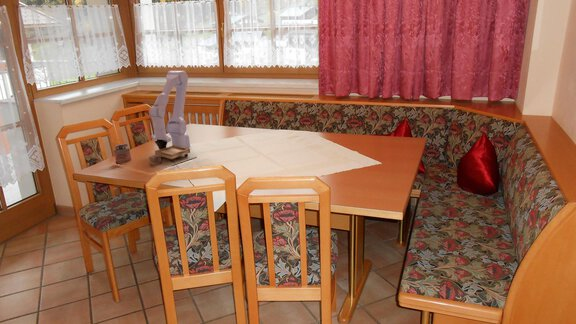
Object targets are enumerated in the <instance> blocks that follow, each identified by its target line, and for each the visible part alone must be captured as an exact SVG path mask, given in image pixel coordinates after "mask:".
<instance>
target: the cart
mask: <svg viewBox="0 0 576 324" xmlns="http://www.w3.org/2000/svg"><path fill="white" fill-rule="evenodd" d="M189 154H191V149H190V147H187V148H184V147H179V146H174V145H173V146H172V145H170V146H166V148H163V149H160V150H159V149H157V150H154V155H160V156H161V159H162V158H167V159H169V160H170V162H174V161H175V159H176V158H180V157H181V156H183V157H185V158H186V157H189Z"/></svg>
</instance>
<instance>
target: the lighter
mask: <svg viewBox="0 0 576 324" xmlns="http://www.w3.org/2000/svg"><path fill="white" fill-rule="evenodd" d="M114 146H115V147H114V148H115V149H113V153H114V158H115V165H120V163H123V162H130V161H132V155H131V149H130V147H128V146H129V145H128V143H122V144H121V143H119V144H117V145H114Z"/></svg>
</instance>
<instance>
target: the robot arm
mask: <svg viewBox="0 0 576 324" xmlns="http://www.w3.org/2000/svg"><path fill="white" fill-rule="evenodd" d="M165 78H166V82H165V84H164V87H163V89H162V92H161V93H159V94H158V95H157V97H156V100H155V102H154V104H153V105H152V106H150V107H149V110H148V115H149V117H150V119H151V120H152V126H153V131H154V134H152V135H151V140H152V139H153V140H155V141H154V143H155V144H156V145H157V148H158V150H160V149H163V148H166V147H167V146H168V143H170V142H171V146H173V145H174V146H179V147H184V148H190V147H191V143H190V136H189V134H188V133H186V131H187V121H186V120H185V119H184V118H183V117H184V111H185V104H186V103H185V101H186V95H187V94H186V93H187V89H188V79H189V75H188V73H187V72H186V71H185V70H169V71H168V72H167V74H166V76H165ZM174 87H175V96H174V105H173V110H172V111H173V113H172V117H171V118H169V119H168V121H167V125H166V126H165V119H164V118H165V115H166V106H167V104H168V102H169V99H170V97H169V95H170V94H171V92H172V90H173V89H174ZM167 133H168V134H169V136H170V137H169V136H168V135H167Z"/></svg>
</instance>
